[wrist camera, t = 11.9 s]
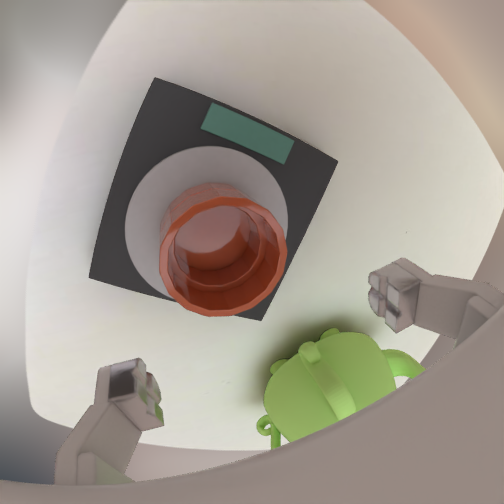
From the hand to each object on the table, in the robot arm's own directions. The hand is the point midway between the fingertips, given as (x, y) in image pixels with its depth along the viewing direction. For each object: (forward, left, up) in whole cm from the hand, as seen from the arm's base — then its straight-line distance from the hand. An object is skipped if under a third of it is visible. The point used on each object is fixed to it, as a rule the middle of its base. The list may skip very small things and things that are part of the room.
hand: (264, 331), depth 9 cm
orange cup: (0, 0, -11) cm, 11 cm away
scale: (0, 0, -14) cm, 14 cm away
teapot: (+21, +7, -14) cm, 26 cm away
